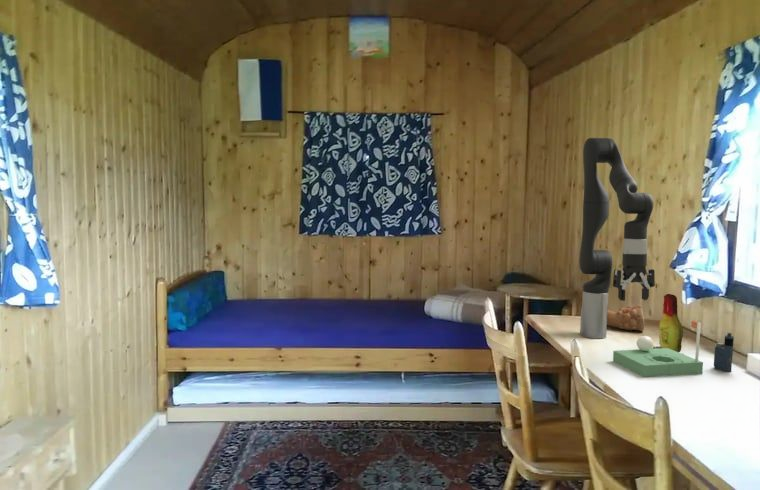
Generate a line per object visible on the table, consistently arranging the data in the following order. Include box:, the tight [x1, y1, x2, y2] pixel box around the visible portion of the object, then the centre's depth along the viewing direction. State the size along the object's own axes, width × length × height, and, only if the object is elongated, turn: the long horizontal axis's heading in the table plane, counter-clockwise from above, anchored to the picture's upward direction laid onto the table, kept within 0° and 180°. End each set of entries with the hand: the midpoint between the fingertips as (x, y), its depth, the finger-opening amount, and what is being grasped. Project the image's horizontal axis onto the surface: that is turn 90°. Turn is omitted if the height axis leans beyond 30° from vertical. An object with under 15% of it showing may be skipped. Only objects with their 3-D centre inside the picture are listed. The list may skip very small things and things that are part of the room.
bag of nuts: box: [607, 304, 645, 332], centre depth 232 cm, size 19×11×15 cm
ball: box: [636, 335, 654, 351], centre depth 187 cm, size 5×5×5 cm
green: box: [612, 320, 704, 378], centre depth 181 cm, size 16×20×16 cm
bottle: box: [658, 293, 684, 353], centre depth 200 cm, size 12×6×20 cm, turn 172°
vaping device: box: [713, 332, 735, 373], centre depth 179 cm, size 3×5×12 cm, turn 28°
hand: (633, 300), depth 193 cm, fingers open, 8 cm apart
